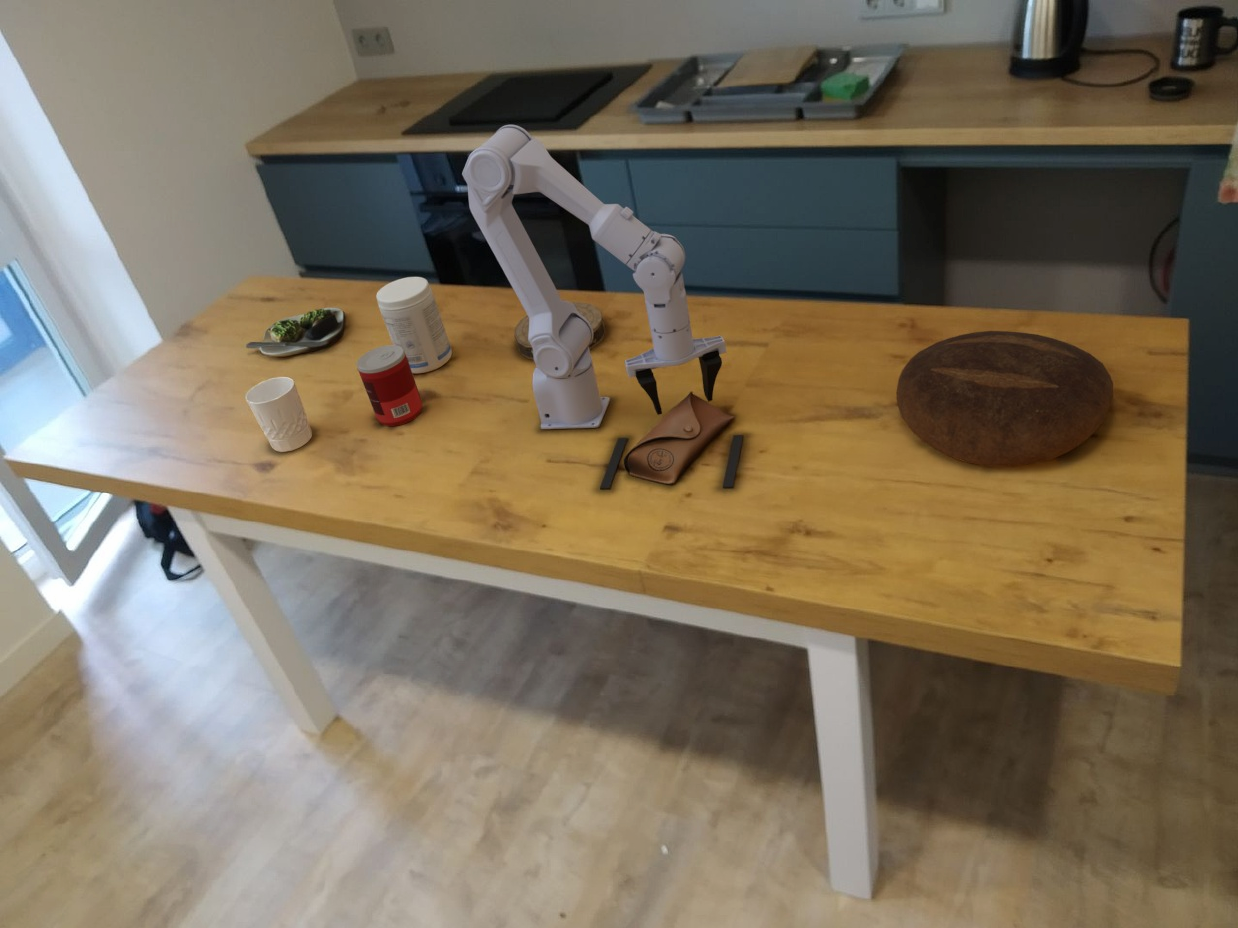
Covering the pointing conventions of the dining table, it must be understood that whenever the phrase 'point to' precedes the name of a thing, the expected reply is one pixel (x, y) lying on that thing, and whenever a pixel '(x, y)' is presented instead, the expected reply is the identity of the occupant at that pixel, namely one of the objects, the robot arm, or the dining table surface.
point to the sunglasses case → (676, 440)
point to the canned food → (390, 385)
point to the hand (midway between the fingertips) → (683, 404)
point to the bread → (1004, 397)
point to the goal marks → (729, 473)
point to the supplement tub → (415, 323)
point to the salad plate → (302, 333)
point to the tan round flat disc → (583, 308)
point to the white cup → (280, 413)
